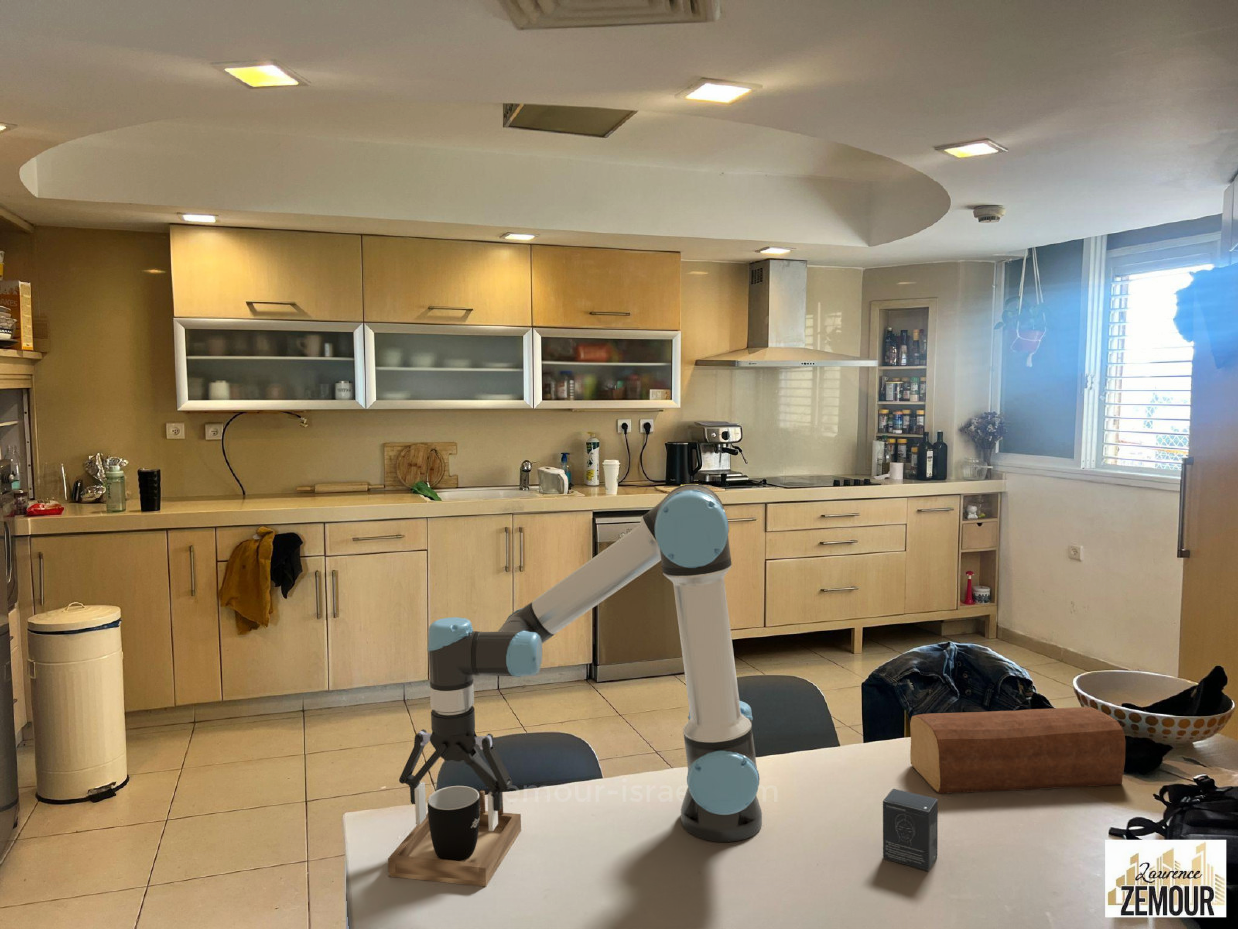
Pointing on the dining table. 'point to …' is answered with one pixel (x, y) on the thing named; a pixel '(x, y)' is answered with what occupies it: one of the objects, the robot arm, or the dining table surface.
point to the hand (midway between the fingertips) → (457, 824)
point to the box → (910, 829)
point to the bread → (1017, 749)
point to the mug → (454, 821)
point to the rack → (423, 863)
